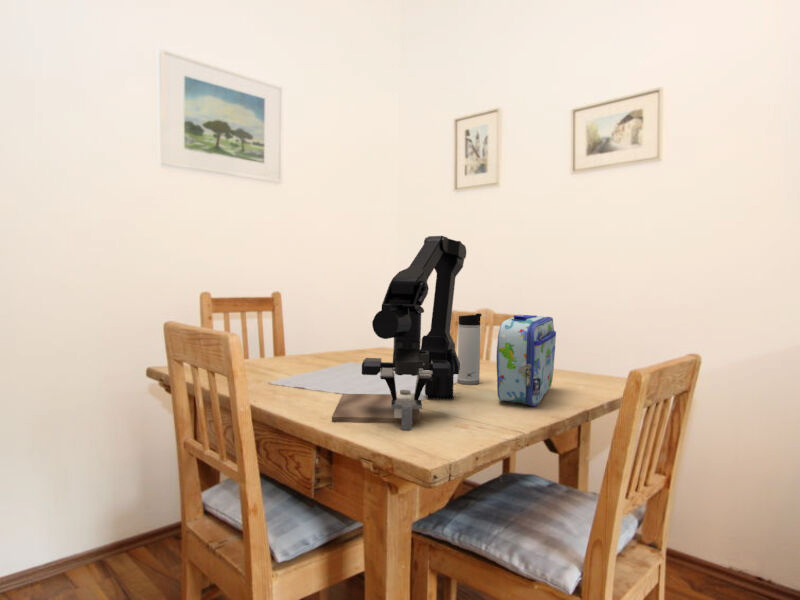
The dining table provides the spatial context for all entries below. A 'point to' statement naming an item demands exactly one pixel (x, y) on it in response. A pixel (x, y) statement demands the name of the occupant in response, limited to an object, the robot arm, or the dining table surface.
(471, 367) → the travel mug
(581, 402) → the dining table surface
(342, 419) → the walnut board
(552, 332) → the lunch box
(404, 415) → the metal keeper
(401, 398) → the cream link
